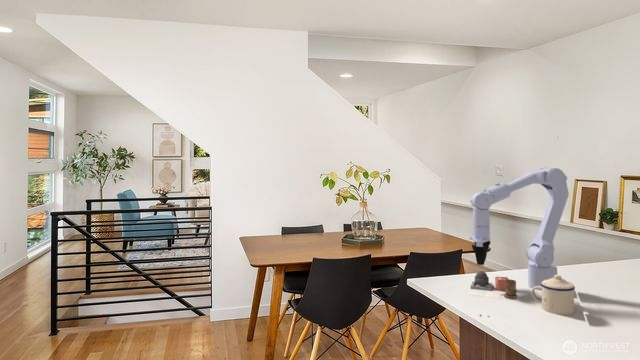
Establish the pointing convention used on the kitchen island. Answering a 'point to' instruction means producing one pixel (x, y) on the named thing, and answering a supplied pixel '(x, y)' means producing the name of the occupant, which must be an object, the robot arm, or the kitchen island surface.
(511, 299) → the board
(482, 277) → the dark gray round knob
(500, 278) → the die
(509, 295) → the flanged wooden peg
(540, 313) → the kitchen island surface
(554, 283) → the teacup with lid
